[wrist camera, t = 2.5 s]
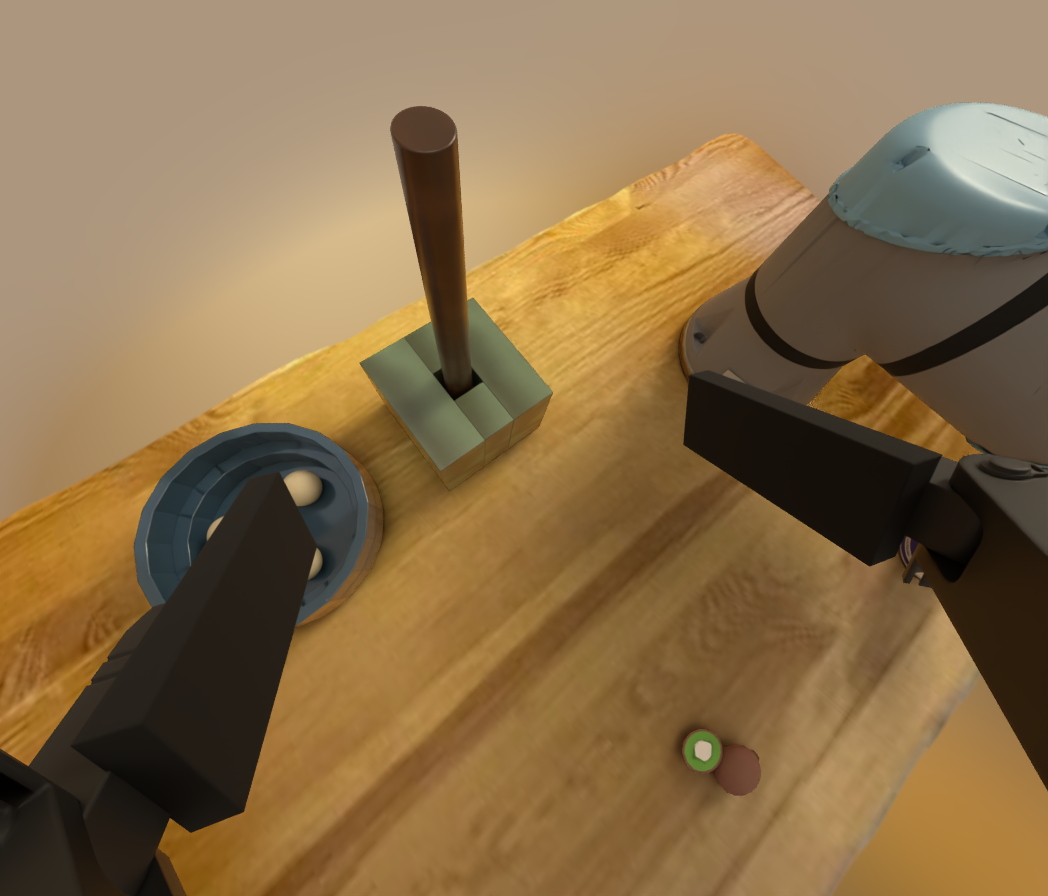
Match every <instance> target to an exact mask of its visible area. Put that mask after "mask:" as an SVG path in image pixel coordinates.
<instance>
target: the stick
mask: <svg viewBox="0 0 1048 896" xmlns="http://www.w3.org/2000/svg"><path fill="white" fill-rule="evenodd" d="M390 131H391V136H392V141H393V146H394V150H395V155H396V160H397V164H398V169H399V173H400V178H401V183H402V187H403V192H404V196H405V201H406V206H407V211H408V215H409V220H410V224H411V229H412V234H413V239H414V243H415V247H416V252H417V257H418V262H419V266H420V271H421V276H422V280H423V285H424V290H425V294H426V299H427V304H428V308H429V313H430V318H431V322H432V327H433V332H434V336H435V341H436V346H437V350H438V355H439V359H440V364H441V369H442V373H443V378H444V383H445V387H446V392H447V393H448V394H449V395H450V397H451V398H452V399H453V401H455V400H456V399H458V398H459V397H461V396H462V395H464V394H465V393H467V392H468V391H470V390H471V389H473V385H472V369H471V352H470V336H469V319H468V303H467V287H466V271H465V254H464V237H463V222H462V205H461V188H460V172H459V155H458V139H457V129H456V126H455V124H454V122H453V120H452V119H451V118H450V117H449V116H448V115H447V114H445V113H444V112H442V111H440V110H438V109H435V108H432V107H426V106H417V107H410V108H407V109H405V110H402V111H401V112H399V113H398V114H397V115H396V116H395V117H394V119H393V121H392V123H391V127H390Z"/></svg>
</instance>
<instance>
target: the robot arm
mask: <svg viewBox="0 0 1048 896" xmlns="http://www.w3.org/2000/svg"><path fill="white" fill-rule="evenodd" d="M865 354H866V355H867V356H869V357H870V358H871V359H872V360H874V361H875V362H876V363H877V364H879V365H880V366H881V367H882V368H884V369H885V370H886V371H887V372H888V373H889V374H890V375H892V376H893V377H894V378H895V379H896V380H898V381H899V382H900V383H901V384H902V385H904V386H905V387H906V388H907V389H908V390H910V391H911V392H912V393H913V394H915V395H916V396H917V397H918V398H919V399H921V400H922V401H923V402H924V403H925V404H927V405H928V406H929V407H930V408H931V409H933V410H934V411H935V412H936V413H938V414H939V415H940V416H941V417H942V418H944V419H945V420H946V421H947V422H948V423H950V424H951V425H952V426H953V427H954V428H956V429H957V430H958V431H959V432H960V433H962V434H963V435H964V436H965V437H966V440H967V442H968V443H969V444H971V445H972V446H973V447H974V448H975V449H977V450H978V451H980V452H981V453H983V454H972V455H968V456H963V457H962V458H961V459H960V460H959V462H956V461H953V460H950V459H947V458H944V457H942V455H941V454H939V453H936V452H933V451H930V450H928V449H925V448H922V447H919V446H917V445H914V444H911V443H908V442H906V441H903V440H900V439H897V438H895V437H892V436H889V435H886V434H883V433H881V432H878V431H875V430H872V429H870V428H867V427H864V426H861V425H859V424H856V423H853V422H850V421H848V420H845V419H842V418H839V417H837V416H834V415H831V414H828V413H826V412H823V411H820V410H817V409H815V408H812V407H809V406H806V405H807V404H808V403H809V402H810V401H811V400H812V399H813V398H814V397H815V396H816V395H817V394H818V393H819V392H820V391H821V389H822V388H823V387H824V386H825V385H826V384H827V383H828V382H829V381H830V380H831V378H832V377H833V376H834V375H835V374H836V373H837V372H838V371H839V370H840V369H841V367H842V366H844V365H845V364H847V363H849V362H851V361H853V360H855V359H856V358H858V357H860V356H863V355H865ZM679 356H680V361H681V365H682V368H683V371H684V373H685V376H686V378H687V380H688V381H689V385H688V396H687V408H686V419H685V431H684V442H683V445H685V446H686V447H688V448H689V449H691V450H692V451H694V452H695V453H697V454H698V455H700V456H702V457H703V458H705V459H706V460H708V461H709V462H711V463H712V464H714V465H715V466H717V467H718V468H720V469H721V470H723V471H724V472H726V473H727V474H729V475H731V476H732V477H734V478H735V479H737V480H738V481H740V482H741V483H743V484H744V485H746V486H747V487H749V488H750V489H752V490H753V491H755V492H757V493H758V494H760V495H761V496H763V497H764V498H766V499H767V500H769V501H770V502H772V503H773V504H775V505H776V506H778V507H779V508H781V509H782V510H784V511H786V512H787V513H789V514H790V515H792V516H793V517H795V518H796V519H798V520H799V521H801V522H802V523H804V524H805V525H807V526H808V527H810V528H812V529H813V530H815V531H816V532H818V533H819V534H821V535H822V536H824V537H825V538H827V539H828V540H830V541H831V542H833V543H834V544H836V545H837V546H839V547H841V548H842V549H844V550H845V551H847V552H848V553H850V554H851V555H853V556H854V557H856V558H857V559H859V560H860V561H862V562H863V563H865V564H867V565H868V566H872V565H875V564H877V563H880V562H883V561H885V560H888V559H890V558H893V557H895V556H896V553H897V551H898V549H899V547H900V545H901V543H902V541H903V538H904V536H907V537H909V538H911V539H912V540H914V541H916V542H918V545H917V547H916V549H915V551H914V553H913V555H912V557H911V559H910V561H909V563H908V565H907V567H906V569H905V571H904V573H903V575H902V577H903V583H908V584H910V582H911V580H912V578H913V576H914V575H915V573H922V572H923V573H924V574H923V576H922V578H921V580H920V582H919V586H925V587H930V588H932V589H933V591H934V592H935V594H936V596H937V598H938V599H939V601H940V603H941V605H942V606H943V608H944V610H945V612H946V613H947V615H948V617H949V619H950V620H951V622H952V624H953V626H954V627H955V629H956V631H957V633H958V635H959V636H960V638H961V640H962V642H963V643H964V645H965V647H966V649H967V650H968V652H969V654H970V656H971V657H972V659H973V661H974V663H975V664H976V666H977V668H978V670H979V671H980V673H981V675H982V677H983V678H984V680H985V682H986V684H987V685H988V687H989V689H990V691H991V692H992V694H993V696H994V698H995V699H996V701H997V703H998V705H999V706H1000V708H1001V710H1002V712H1003V713H1004V715H1005V717H1006V719H1007V720H1008V722H1009V724H1010V726H1011V727H1012V729H1013V731H1014V732H1015V734H1016V736H1017V738H1018V740H1019V741H1020V743H1021V745H1022V747H1023V749H1024V750H1025V752H1026V754H1027V756H1028V757H1029V759H1030V760H1031V763H1032V764H1033V766H1034V768H1035V770H1036V771H1037V772H1038V775H1039V777H1040V778H1041V780H1042V782H1043V783H1044V785H1045V787H1046V789H1047V790H1048V117H1046V116H1043V115H1040V114H1037V113H1034V112H1031V111H1027V110H1023V109H1020V108H1015V107H1011V106H1006V105H999V104H992V103H953V104H946V105H941V106H937V107H933V108H930V109H928V110H924V111H922V112H919V113H917V114H915V115H913V116H911V117H909V118H908V119H906V120H904V121H902V122H901V123H899V124H898V125H896V126H895V127H894V128H893V129H891V130H890V131H889V132H888V133H887V134H885V135H884V137H883V138H881V139H880V140H879V141H878V142H877V144H875V145H874V146H873V147H872V148H871V149H870V150H869V151H868V152H867V153H866V154H865V155H864V156H863V157H862V158H861V159H860V160H859V161H858V162H857V163H856V164H855V165H854V166H853V167H852V168H850V169H849V170H847V171H846V172H844V173H843V174H842V175H841V176H840V177H839V178H838V179H837V180H836V181H835V183H834V184H833V185H832V186H831V187H830V190H829V194H828V195H827V196H826V197H825V198H824V199H823V200H822V201H821V202H820V203H819V205H818V206H817V207H816V208H815V209H814V210H813V211H812V212H811V213H810V214H809V215H808V216H807V217H806V218H805V219H804V220H803V221H802V222H801V223H800V225H799V226H798V227H797V228H796V229H795V230H794V231H793V232H792V233H791V234H790V235H789V236H788V237H787V238H786V239H785V240H784V241H783V242H782V243H781V245H780V246H779V247H778V248H777V249H776V250H775V251H774V252H773V253H772V254H771V255H770V256H769V257H768V258H767V259H766V260H765V261H764V263H763V264H762V265H761V266H760V267H759V268H758V269H757V270H756V271H755V272H754V273H753V274H752V275H751V276H750V277H748V278H746V279H744V280H743V281H741V282H739V283H737V284H735V285H734V286H732V287H730V288H728V289H726V290H725V291H723V292H721V293H719V294H718V295H716V296H714V297H712V298H711V299H709V300H708V301H706V302H705V303H704V304H703V305H701V306H700V307H699V308H698V309H697V310H696V311H695V312H694V314H693V315H692V316H691V317H690V318H689V320H688V321H687V322H686V324H685V326H684V328H683V330H682V333H681V336H680V342H679ZM316 549H317V544H316V542H315V540H314V538H313V536H312V535H311V533H310V531H309V529H308V527H307V525H306V523H305V521H304V519H303V517H302V515H301V513H300V511H299V509H298V507H297V505H296V503H295V501H294V499H293V497H292V495H291V494H290V492H289V490H288V488H287V486H286V484H285V482H284V480H283V478H282V476H281V474H280V472H275V473H271V474H267V475H262V476H258V477H254V478H250V479H248V481H247V482H246V484H245V485H244V487H243V488H242V490H241V491H240V493H239V494H238V496H237V497H236V499H235V500H234V502H233V503H232V505H231V506H230V508H229V509H228V511H227V512H226V514H225V515H224V517H223V518H222V520H221V521H220V523H219V524H218V526H217V527H216V529H215V530H214V532H213V533H212V535H211V536H210V538H209V539H208V541H207V542H206V544H205V545H204V547H203V548H202V550H201V551H200V553H199V554H198V556H197V557H196V559H195V560H194V562H193V563H192V565H191V566H190V568H189V569H188V571H187V572H186V574H185V575H184V577H183V578H182V580H181V581H180V583H179V584H178V586H177V587H176V589H175V590H174V592H173V593H172V595H171V596H170V598H169V599H168V601H167V602H166V603H163V604H160V605H156V606H153V607H152V608H151V609H150V610H149V611H148V612H147V613H146V614H145V615H144V616H142V617H141V618H140V619H139V620H138V621H137V622H136V623H135V624H134V625H133V626H132V627H130V628H129V629H128V630H127V631H126V632H125V634H124V635H123V637H122V638H121V639H120V641H119V642H118V643H117V645H116V646H115V648H114V649H113V650H112V652H111V653H110V654H109V656H108V657H107V658H108V662H105V663H103V664H102V666H101V667H100V668H99V670H98V671H97V672H96V674H95V675H94V677H93V678H92V679H91V681H92V683H91V685H89V686H86V688H85V689H84V690H83V692H82V693H81V695H80V696H79V697H78V699H77V700H76V701H75V703H74V704H73V706H72V707H71V708H70V710H69V711H68V712H67V714H66V715H65V717H64V718H63V719H62V721H61V722H60V724H59V725H58V726H57V728H56V729H55V730H54V732H53V733H52V735H51V736H50V737H49V739H48V740H47V741H46V743H45V744H44V746H43V747H42V748H41V750H40V751H39V753H38V754H37V755H36V757H35V758H34V759H33V761H32V762H31V764H30V765H29V766H27V765H25V764H24V763H22V762H20V761H19V760H17V759H16V758H14V757H12V756H11V755H9V754H8V753H6V752H5V751H3V750H1V749H0V896H186V894H185V892H184V889H183V887H182V885H181V883H180V881H179V879H178V876H177V874H176V872H175V870H174V868H173V865H172V863H171V861H170V859H169V857H168V856H167V855H166V854H164V853H163V852H162V851H161V850H160V849H158V845H159V843H160V840H161V838H162V836H163V833H164V831H165V828H166V826H167V823H168V821H169V818H171V819H172V820H174V821H175V822H176V823H178V824H179V825H181V826H182V827H183V828H185V829H186V830H188V831H189V832H190V833H191V832H194V831H196V830H199V829H202V828H204V827H207V826H209V825H212V824H214V823H217V822H219V821H222V820H225V819H227V818H230V817H232V816H235V815H237V814H240V813H242V812H244V809H245V806H246V802H247V798H248V795H249V791H250V788H251V784H252V780H253V777H254V773H255V770H256V766H257V762H258V759H259V755H260V751H261V748H262V744H263V741H264V737H265V733H266V730H267V726H268V723H269V719H270V715H271V712H272V708H273V704H274V701H275V697H276V694H277V690H278V686H279V683H280V679H281V676H282V672H283V668H284V665H285V661H286V657H287V654H288V650H289V647H290V643H291V639H292V636H293V632H294V628H295V625H296V621H297V618H298V614H299V610H300V607H301V603H302V600H303V596H304V592H305V589H306V585H307V581H308V578H309V574H310V571H311V567H312V563H313V560H314V556H315V553H316Z"/></svg>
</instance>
